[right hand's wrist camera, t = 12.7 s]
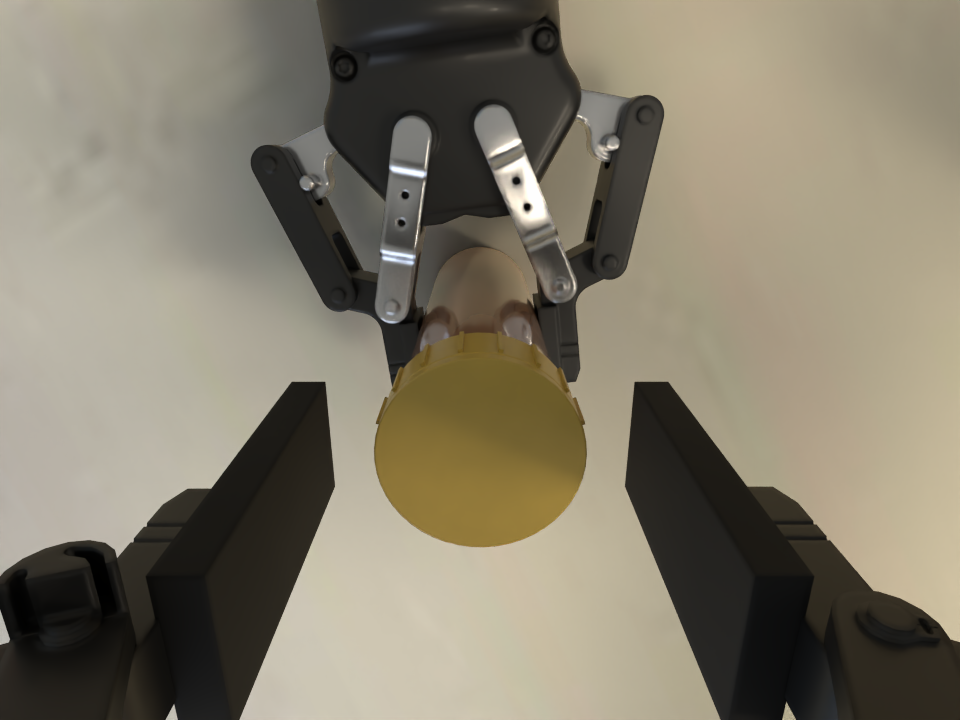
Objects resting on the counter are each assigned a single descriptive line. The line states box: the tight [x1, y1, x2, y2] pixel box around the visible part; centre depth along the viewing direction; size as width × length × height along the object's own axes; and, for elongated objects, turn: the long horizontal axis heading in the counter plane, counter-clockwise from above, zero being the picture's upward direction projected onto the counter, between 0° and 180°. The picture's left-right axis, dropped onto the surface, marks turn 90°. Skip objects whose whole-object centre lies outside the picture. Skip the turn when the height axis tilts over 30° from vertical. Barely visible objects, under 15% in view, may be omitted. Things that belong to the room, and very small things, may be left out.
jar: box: [410, 247, 551, 361], centre depth 22 cm, size 4×4×16 cm
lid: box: [374, 331, 587, 547], centre depth 15 cm, size 5×5×2 cm
